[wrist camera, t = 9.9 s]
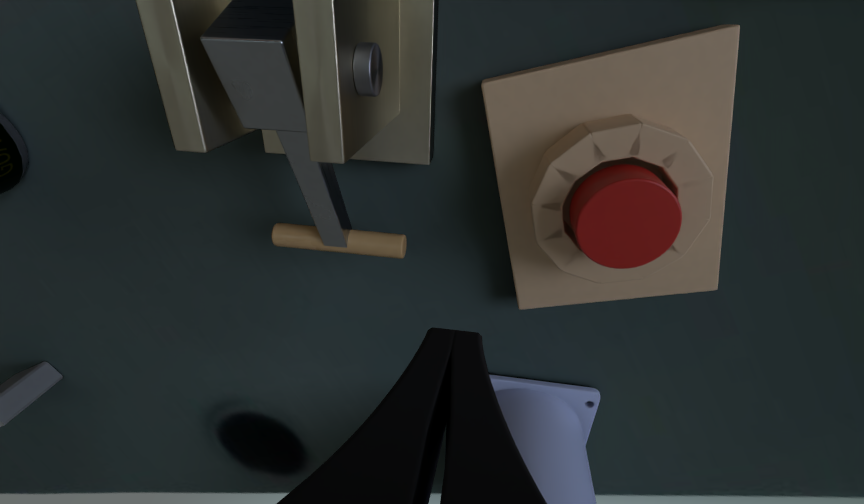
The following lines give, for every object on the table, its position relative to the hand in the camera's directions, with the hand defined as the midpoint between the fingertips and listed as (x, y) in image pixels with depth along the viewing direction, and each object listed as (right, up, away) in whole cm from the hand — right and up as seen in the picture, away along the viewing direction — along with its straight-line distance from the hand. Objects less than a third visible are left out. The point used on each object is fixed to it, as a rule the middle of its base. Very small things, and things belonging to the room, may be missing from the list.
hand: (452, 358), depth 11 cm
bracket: (-4, +11, +6) cm, 14 cm away
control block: (+7, +6, +8) cm, 12 cm away
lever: (-5, +7, +5) cm, 10 cm away
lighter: (-32, -7, +21) cm, 39 cm away
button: (+7, +5, +5) cm, 10 cm away
